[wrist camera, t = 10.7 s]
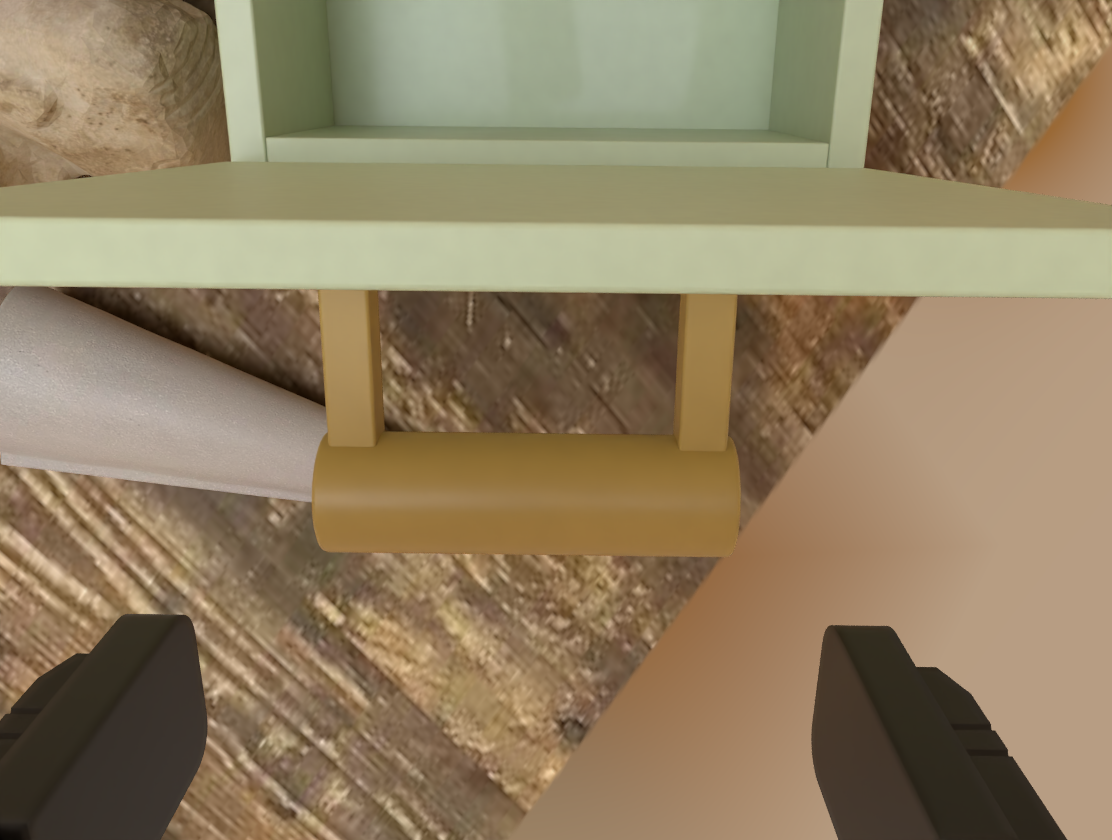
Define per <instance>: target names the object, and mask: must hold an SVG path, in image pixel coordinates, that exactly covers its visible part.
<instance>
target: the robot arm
mask: <svg viewBox="0 0 1112 840" xmlns="http://www.w3.org/2000/svg"><path fill="white" fill-rule="evenodd" d="M206 738H207V712H206V705H205V698H204V691H203V685H202V678H201V671H200V664H199V657H198V650H197V643H196V636H195V630H194V626H193V623H192V621H191V619H190V618H189V617H188V616H186V615H161V614H125V615H123V616H121V617H120V618H119V619H118V620H117V621H116V622H115V624H114V625H113V626H112V627H111V628H110V630H109V631H108V632H107V633H106V634H105V635H104V637H103V638H102V639H101V640H100V641H99V643H98V644H97V645H96V646H95V647H94V649H93V650H92V651H91V652H90V653H89V654H75V655H73V656H72V657H70V658H69V659H67V660H66V661H64V662H63V663H61V664H59V665H58V666H56V667H55V668H53V669H52V670H50V671H48V672H47V673H45V674H44V675H42V676H41V677H39V678H38V679H37V680H36V681H35V682H34V683H33V684H32V685H31V686H30V687H29V689H28V690H27V691H26V692H25V693H24V694H23V695H22V696H21V698H20V699H19V700H18V701H17V702H16V703H15V704H14V705H13V707H12V708H11V713H10V714H5V716H4V717H3V718H2V719H1V720H0V840H160V839H161V838H162V836H163V834H164V832H165V830H166V828H167V826H168V825H169V823H170V821H171V819H172V817H173V815H174V813H175V812H176V810H177V808H178V806H179V804H180V802H181V800H182V799H183V797H184V795H185V793H186V791H187V789H188V787H189V785H190V784H191V782H192V780H193V778H194V776H195V774H196V772H197V770H198V768H199V766H200V764H201V761H202V758H203V754H204V750H205V745H206ZM812 755H813V764H814V769H815V773H816V778H817V781H818V784H819V787H820V789H821V792H822V795H823V798H824V801H825V803H826V806H827V809H828V812H829V814H830V817H831V820H832V823H833V826H834V829H835V831H836V834H837V837H838V840H1067V839H1066V837H1065V836H1064V834H1063V833H1062V831H1061V830H1060V828H1059V827H1058V825H1057V824H1056V822H1055V821H1054V819H1053V818H1052V816H1051V815H1050V813H1049V811H1048V810H1047V809H1046V807H1045V805H1044V804H1043V802H1042V801H1041V799H1040V798H1039V796H1038V795H1037V793H1036V792H1035V790H1034V789H1033V787H1032V786H1031V784H1030V783H1029V781H1028V780H1027V778H1026V777H1025V775H1024V774H1023V772H1022V771H1021V769H1020V768H1019V766H1018V765H1017V763H1016V762H1015V760H1014V759H1013V757H1009V756H1008V749H1007V748H1006V747H1005V745H1004V743H1003V742H1002V740H1001V739H1000V737H999V736H998V734H997V733H996V731H992V730H991V724H990V722H989V721H988V719H987V718H986V716H985V715H984V713H983V712H982V710H981V709H980V707H979V706H978V704H977V703H976V701H975V700H974V698H973V696H972V695H971V694H970V693H969V692H968V691H966V690H965V689H964V688H962V687H961V686H960V685H959V684H957V683H956V682H955V681H953V680H952V679H951V678H950V677H948V676H947V675H946V674H944V673H943V672H942V671H940V670H939V669H938V668H936V667H916V666H915V664H914V663H913V661H912V659H911V658H910V656H909V654H908V653H907V651H906V649H905V648H904V646H903V644H902V643H901V641H900V639H899V638H898V636H897V634H896V633H895V631H894V630H893V629H892V628H891V627H889V626H843V625H842V626H841V625H835V626H833V625H831V626H828V628H827V629H826V631H825V634H824V637H823V643H822V650H821V658H820V666H819V675H818V682H817V690H816V699H815V706H814V714H813V723H812Z"/></svg>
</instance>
